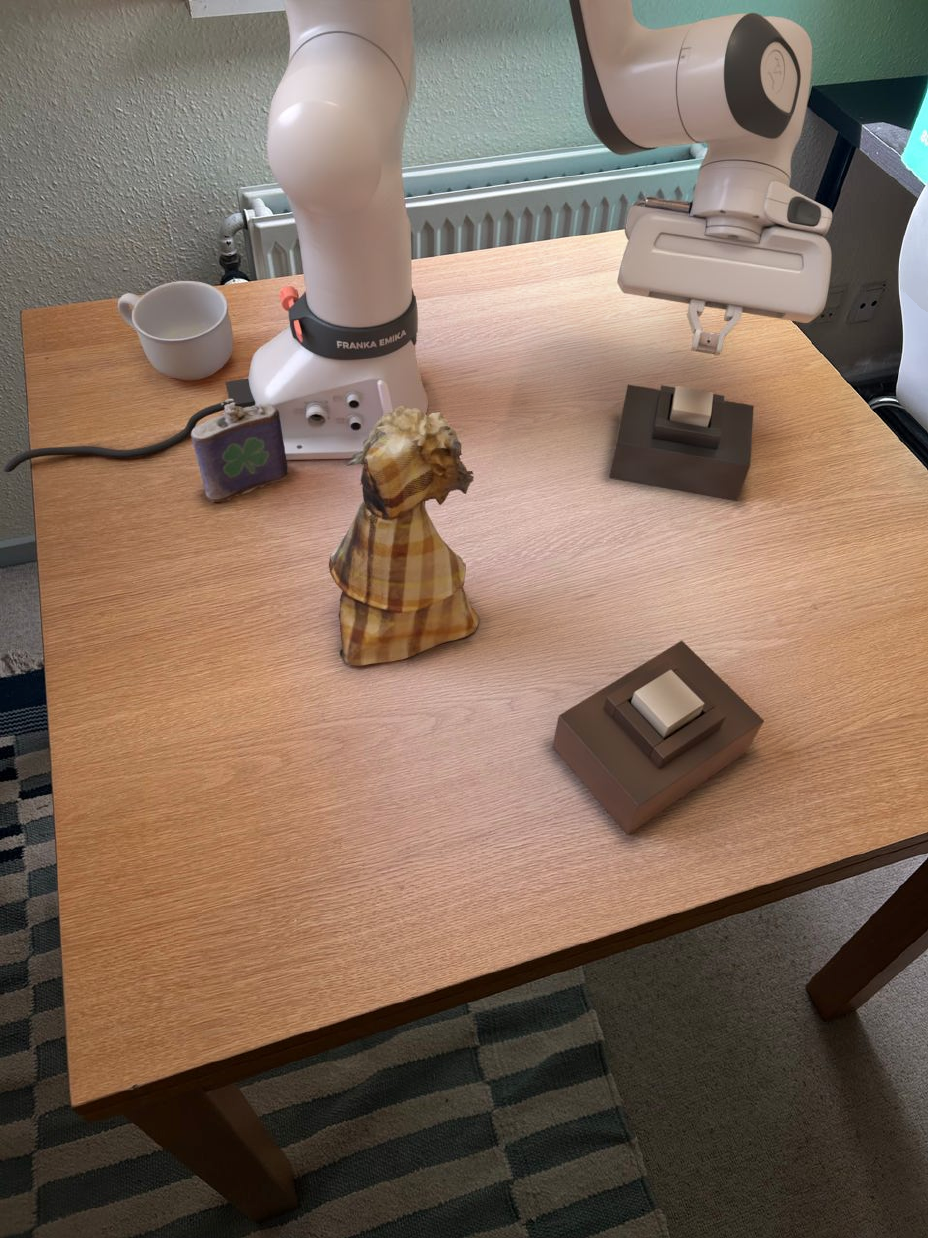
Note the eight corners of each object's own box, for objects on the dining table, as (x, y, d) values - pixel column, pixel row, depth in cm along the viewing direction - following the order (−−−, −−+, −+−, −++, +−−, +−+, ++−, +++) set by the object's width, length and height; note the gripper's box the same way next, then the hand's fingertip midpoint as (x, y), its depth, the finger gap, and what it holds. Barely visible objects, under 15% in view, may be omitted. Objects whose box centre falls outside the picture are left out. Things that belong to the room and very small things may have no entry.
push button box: (627, 835, 75) (642, 796, 69) (551, 746, 80) (560, 703, 74) (747, 751, 80) (771, 709, 75) (669, 673, 85) (686, 627, 80)
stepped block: (608, 478, 101) (619, 428, 95) (620, 420, 107) (630, 370, 101) (737, 501, 99) (755, 452, 94) (741, 441, 105) (758, 392, 100)
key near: (663, 739, 73) (668, 727, 72) (630, 703, 75) (634, 692, 74) (699, 715, 75) (704, 703, 73) (666, 681, 77) (670, 669, 75)
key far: (669, 422, 97) (672, 408, 95) (672, 398, 99) (676, 385, 98) (707, 428, 96) (711, 415, 95) (709, 404, 99) (713, 391, 97)
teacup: (257, 358, 112) (247, 300, 105) (196, 405, 106) (181, 347, 100) (172, 319, 116) (157, 261, 110) (109, 363, 110) (89, 304, 104)
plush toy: (304, 560, 91) (299, 395, 69) (433, 528, 94) (468, 361, 72) (347, 685, 86) (356, 551, 63) (482, 646, 89) (535, 506, 67)
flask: (211, 506, 96) (191, 427, 88) (201, 489, 98) (180, 409, 89) (292, 477, 99) (280, 397, 91) (281, 461, 101) (268, 381, 92)
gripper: (633, 181, 88) (603, 328, 90) (850, 214, 86) (815, 364, 87) (630, 203, 94) (602, 340, 96) (832, 235, 92) (799, 374, 94)
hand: (705, 352), depth 92 cm, fingers closed
